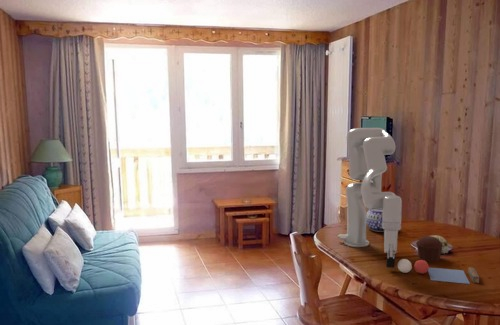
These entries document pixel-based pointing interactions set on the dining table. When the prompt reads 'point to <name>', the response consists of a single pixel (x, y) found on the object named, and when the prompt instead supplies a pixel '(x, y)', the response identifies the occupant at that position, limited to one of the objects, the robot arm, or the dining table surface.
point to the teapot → (375, 220)
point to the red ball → (421, 266)
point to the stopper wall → (473, 275)
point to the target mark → (448, 275)
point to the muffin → (429, 248)
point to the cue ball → (404, 265)
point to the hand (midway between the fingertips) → (390, 266)
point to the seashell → (444, 243)
